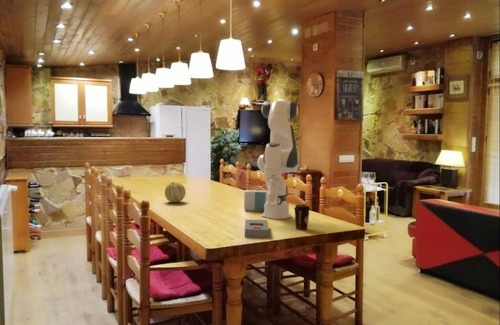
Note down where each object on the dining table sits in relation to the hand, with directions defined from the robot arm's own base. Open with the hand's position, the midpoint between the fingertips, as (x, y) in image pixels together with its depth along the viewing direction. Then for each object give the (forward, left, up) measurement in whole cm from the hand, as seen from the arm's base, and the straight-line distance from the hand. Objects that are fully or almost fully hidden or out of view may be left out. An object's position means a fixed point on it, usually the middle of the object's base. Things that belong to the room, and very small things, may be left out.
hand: (272, 200), depth 214 cm
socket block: (-1, -8, -17) cm, 19 cm away
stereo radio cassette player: (-59, -5, -17) cm, 62 cm away
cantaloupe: (-82, -66, -17) cm, 107 cm away
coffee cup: (-10, +17, -17) cm, 26 cm away
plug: (0, 0, -3) cm, 3 cm away
